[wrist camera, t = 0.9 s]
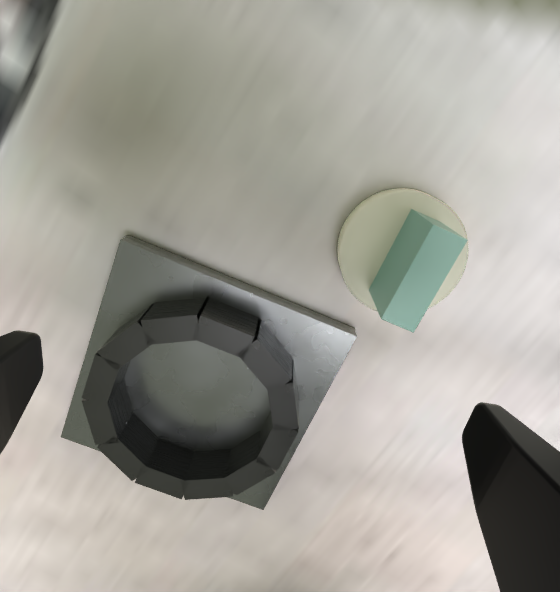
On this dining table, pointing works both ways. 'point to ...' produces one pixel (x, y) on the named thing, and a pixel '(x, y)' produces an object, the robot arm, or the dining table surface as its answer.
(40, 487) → the dining table surface
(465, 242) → the cap
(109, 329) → the square ring flange
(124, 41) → the dining table surface
